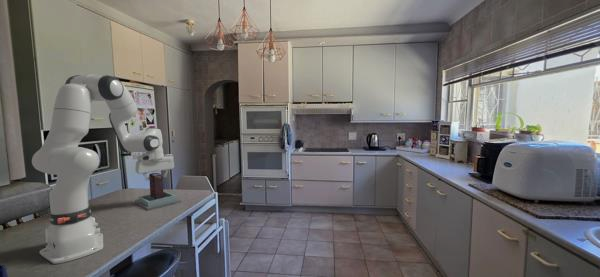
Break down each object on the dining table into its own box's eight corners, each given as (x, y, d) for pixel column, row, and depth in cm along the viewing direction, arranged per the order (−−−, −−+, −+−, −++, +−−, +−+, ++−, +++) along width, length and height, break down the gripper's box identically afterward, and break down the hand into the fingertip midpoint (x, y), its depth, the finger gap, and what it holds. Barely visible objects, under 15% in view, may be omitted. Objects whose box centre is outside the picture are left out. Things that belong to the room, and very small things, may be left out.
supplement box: (164, 200, 151) (162, 174, 150) (155, 202, 148) (154, 175, 146) (158, 198, 157) (157, 172, 156) (150, 199, 153) (148, 173, 152)
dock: (181, 202, 152) (180, 196, 152) (147, 210, 139) (147, 203, 138) (166, 195, 167) (165, 189, 166) (134, 202, 153) (134, 196, 153)
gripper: (171, 153, 160) (172, 174, 161) (133, 157, 145) (135, 181, 146) (175, 153, 156) (176, 176, 157) (137, 158, 141) (138, 182, 142)
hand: (156, 178), depth 152 cm, fingers open, 8 cm apart
